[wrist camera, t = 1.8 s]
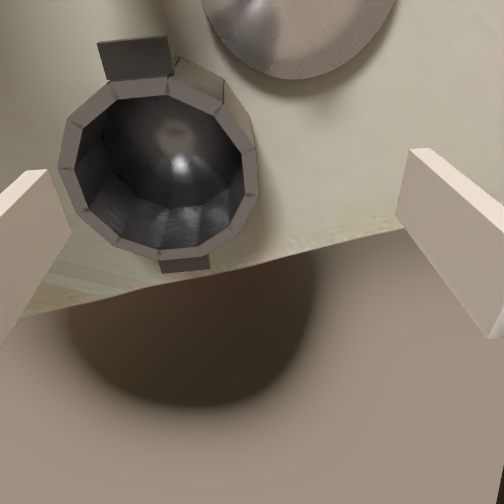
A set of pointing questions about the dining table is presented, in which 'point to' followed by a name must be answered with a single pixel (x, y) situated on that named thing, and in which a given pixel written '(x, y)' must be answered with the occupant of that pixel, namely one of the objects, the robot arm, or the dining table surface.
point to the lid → (296, 32)
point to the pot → (160, 156)
